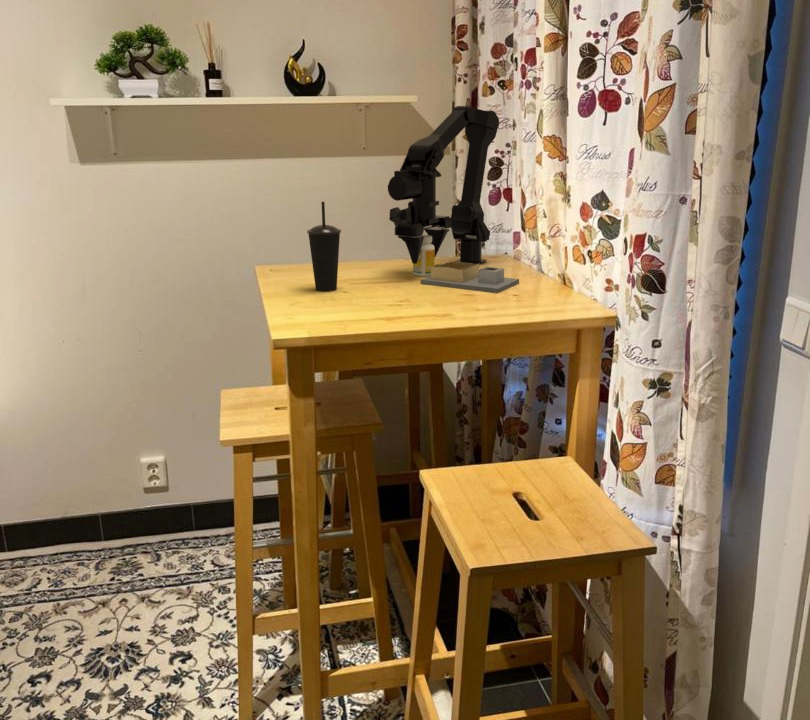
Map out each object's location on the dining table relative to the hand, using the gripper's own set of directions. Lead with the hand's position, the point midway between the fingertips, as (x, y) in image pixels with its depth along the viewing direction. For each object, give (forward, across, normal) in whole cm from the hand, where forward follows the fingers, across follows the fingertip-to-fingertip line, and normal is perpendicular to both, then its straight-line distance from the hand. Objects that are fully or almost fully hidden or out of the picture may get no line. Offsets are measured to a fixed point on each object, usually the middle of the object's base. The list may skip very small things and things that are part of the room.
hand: (424, 260), depth 197 cm
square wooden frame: (+4, +4, +11) cm, 12 cm away
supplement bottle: (+4, 0, 0) cm, 4 cm away
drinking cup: (+4, +26, -11) cm, 29 cm away
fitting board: (+4, +4, +15) cm, 16 cm away
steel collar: (+4, +4, +20) cm, 21 cm away
